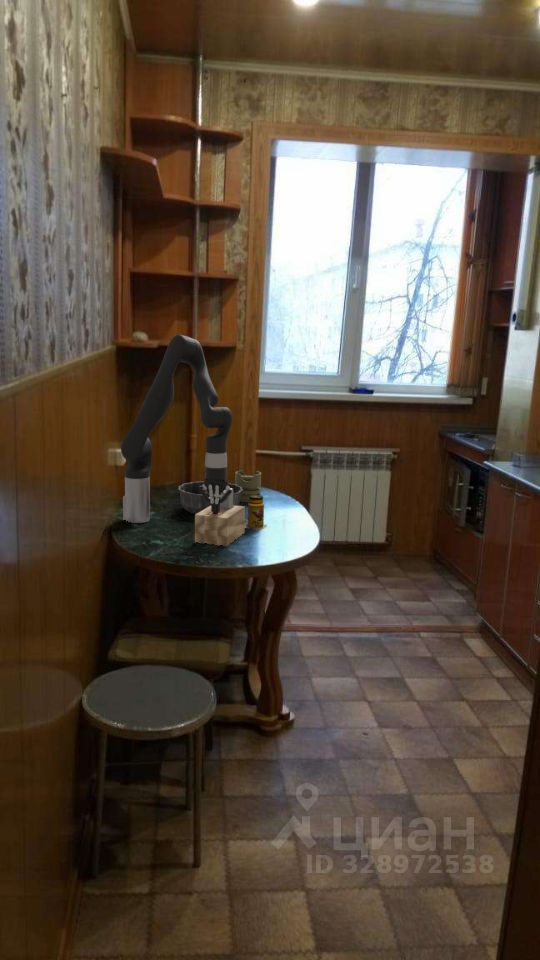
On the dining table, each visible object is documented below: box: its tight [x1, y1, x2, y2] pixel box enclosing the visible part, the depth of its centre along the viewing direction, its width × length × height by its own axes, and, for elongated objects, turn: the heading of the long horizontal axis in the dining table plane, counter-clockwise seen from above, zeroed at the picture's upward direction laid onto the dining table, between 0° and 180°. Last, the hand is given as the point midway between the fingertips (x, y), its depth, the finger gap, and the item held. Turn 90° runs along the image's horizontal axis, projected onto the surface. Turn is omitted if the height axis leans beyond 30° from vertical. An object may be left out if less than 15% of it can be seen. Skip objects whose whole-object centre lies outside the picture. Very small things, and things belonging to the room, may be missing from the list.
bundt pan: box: [178, 480, 243, 514], centre depth 291 cm, size 26×26×10 cm
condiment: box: [245, 495, 267, 530], centre depth 270 cm, size 7×8×12 cm
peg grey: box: [220, 490, 233, 510], centre depth 257 cm, size 4×4×8 cm
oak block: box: [194, 505, 246, 547], centre depth 254 cm, size 12×18×10 cm, turn 162°
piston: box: [234, 470, 262, 503], centre depth 313 cm, size 11×12×11 cm
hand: (215, 513), depth 248 cm, fingers closed
